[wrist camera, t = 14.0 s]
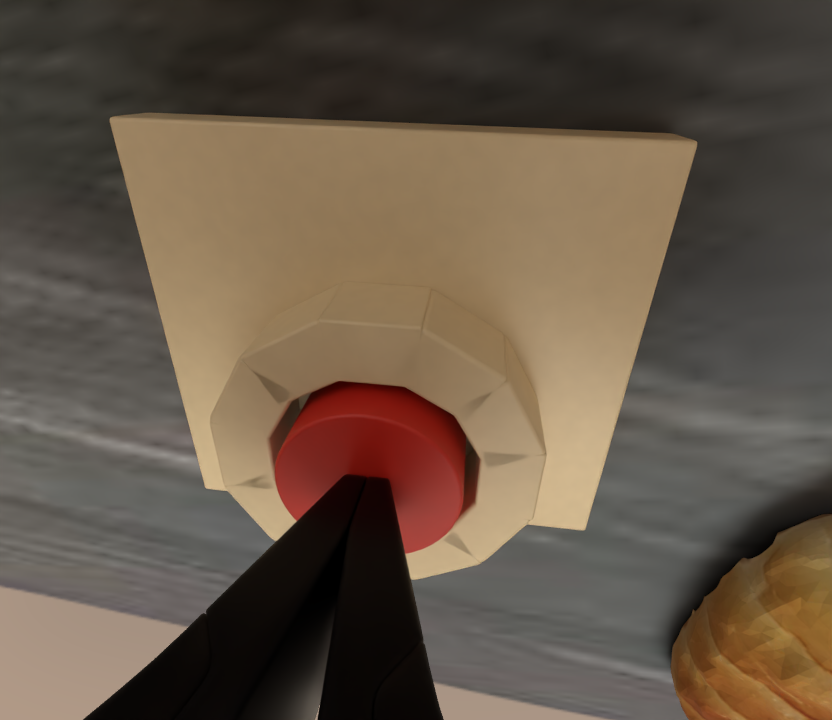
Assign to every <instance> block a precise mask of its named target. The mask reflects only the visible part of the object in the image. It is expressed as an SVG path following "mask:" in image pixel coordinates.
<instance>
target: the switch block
mask: <svg viewBox="0 0 832 720" xmlns="http://www.w3.org/2000/svg"><path fill="white" fill-rule="evenodd" d="M110 124H111V128H112V132H113V136H114V140H115V144H116V147H117V151H118V155H119V159H120V163H121V166H122V170H123V174H124V178H125V182H126V186H127V189H128V193H129V197H130V201H131V205H132V209H133V212H134V216H135V220H136V224H137V228H138V232H139V235H140V239H141V243H142V247H143V251H144V255H145V258H146V262H147V266H148V270H149V274H150V278H151V281H152V285H153V289H154V293H155V297H156V301H157V304H158V308H159V312H160V316H161V320H162V324H163V327H164V331H165V335H166V339H167V343H168V347H169V350H170V354H171V358H172V362H173V366H174V369H175V373H176V377H177V381H178V385H179V389H180V392H181V396H182V400H183V404H184V408H185V412H186V415H187V419H188V423H189V427H190V431H191V435H192V438H193V442H194V446H195V450H196V454H197V458H198V461H199V465H200V469H201V473H202V477H203V481H204V484H205V487H206V488H207V489H214V490H223V491H228V492H229V493H230V494H231V495H232V496H233V497H234V498H235V499H236V500H237V502H238V503H239V504H240V505H241V506H242V507H243V508H244V509H245V510H246V511H247V512H248V514H249V515H250V516H251V517H252V518H253V519H254V520H255V521H256V522H257V523H258V525H259V526H260V527H261V528H262V529H263V530H264V531H265V532H266V533H267V534H268V535H269V537H270V538H273V540H275V541H277V540H278V539H279V538H280V537H281V536H282V535H283V534H284V533H285V532H286V531H287V530H288V529H289V528H290V527H291V526H292V525H293V524H294V523H296V522H297V521H296V520H295V519H294V518H293V517H292V515H291V514H290V513H289V511H288V510H287V509H286V507H285V506H284V504H283V502H282V500H281V498H280V496H279V493H278V490H277V486H276V482H275V464H276V459H277V456H278V453H279V451H280V449H281V447H282V445H283V443H284V441H285V439H286V437H287V436H288V434H289V432H290V430H291V428H292V426H293V425H294V423H295V421H296V419H297V417H298V415H299V414H300V412H301V410H302V408H303V406H304V404H305V403H306V401H307V399H308V397H309V395H310V394H311V393H312V392H314V391H316V390H319V389H321V388H324V387H326V386H328V385H331V384H333V383H335V382H338V381H345V382H356V383H368V384H379V385H390V386H402V387H406V388H407V389H409V390H411V391H413V392H414V393H416V394H418V395H420V396H421V397H423V398H425V399H426V400H428V401H430V402H432V403H433V404H435V405H437V406H438V407H440V408H442V409H444V410H445V411H447V412H449V413H451V414H452V415H454V416H455V418H456V419H457V421H458V423H459V424H460V426H461V428H462V429H463V431H464V433H465V434H466V457H465V478H464V499H463V505H462V510H461V512H460V515H459V517H458V519H457V521H456V522H455V524H454V526H453V527H452V528H451V529H450V531H449V532H448V533H447V534H446V535H445V536H444V537H442V538H441V539H440V540H439V541H437V542H435V543H434V544H432V545H430V546H428V547H426V548H424V549H421V550H418V551H415V552H412V553H407V554H405V555H406V559H407V564H408V569H409V573H410V578H411V580H412V579H413V580H417V579H421V578H425V577H429V576H433V575H438V574H442V573H446V572H450V571H454V570H458V569H462V568H466V567H470V566H475V565H479V564H480V563H481V562H483V561H485V560H486V559H487V558H489V557H490V556H491V555H492V554H493V553H494V552H495V551H497V550H498V549H499V548H500V547H501V546H502V545H504V544H505V543H506V542H507V541H508V540H509V539H510V538H512V537H513V536H514V535H515V534H516V533H517V532H519V531H520V530H521V529H522V528H523V527H524V526H525V525H527V524H529V525H538V526H547V527H556V528H565V529H574V530H585V528H586V525H587V522H588V518H589V515H590V511H591V508H592V504H593V501H594V498H595V494H596V491H597V487H598V484H599V480H600V477H601V474H602V470H603V467H604V463H605V460H606V456H607V453H608V450H609V446H610V443H611V439H612V436H613V432H614V429H615V426H616V422H617V419H618V415H619V412H620V408H621V405H622V402H623V398H624V395H625V391H626V388H627V385H628V381H629V378H630V374H631V371H632V367H633V364H634V361H635V357H636V354H637V350H638V347H639V343H640V340H641V337H642V333H643V330H644V326H645V323H646V319H647V316H648V313H649V309H650V306H651V302H652V299H653V295H654V292H655V289H656V285H657V282H658V278H659V275H660V271H661V268H662V265H663V261H664V258H665V254H666V251H667V247H668V244H669V241H670V237H671V234H672V230H673V227H674V223H675V220H676V217H677V213H678V210H679V206H680V203H681V200H682V196H683V193H684V189H685V186H686V182H687V179H688V176H689V172H690V169H691V165H692V162H693V158H694V155H695V152H696V148H697V142H696V141H694V140H692V139H688V138H685V137H682V136H679V135H676V134H672V133H650V132H625V131H600V130H575V129H550V128H525V127H500V126H474V125H449V124H424V123H399V122H374V121H349V120H324V119H299V118H274V117H249V116H223V115H198V114H173V113H139V114H130V115H122V116H113V117H111V118H110Z"/></svg>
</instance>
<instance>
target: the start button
mask: <svg viewBox="0 0 832 720" xmlns="http://www.w3.org/2000/svg"><path fill="white" fill-rule="evenodd" d="M465 457H466V434H465V433H464V431H463V429H462V428H461V426H460V424H459V423H458V421H457V419H456V418H455V416H454V415H452V414H451V413H449V412H447V411H445V410H444V409H442V408H440V407H438V406H437V405H435V404H433V403H432V402H430V401H428V400H426V399H425V398H423V397H421V396H420V395H418V394H416V393H414V392H413V391H411V390H409V389H407V388H406V387H402V386H390V385H379V384H368V383H356V382H345V381H338V382H335V383H333V384H331V385H328V386H326V387H324V388H321V389H319V390H316V391H314V392H312V393H311V394H310V395H309V397H308V399H307V401H306V403H305V404H304V406H303V408H302V410H301V412H300V414H299V415H298V417H297V419H296V421H295V423H294V425H293V426H292V428H291V430H290V432H289V434H288V436H287V437H286V439H285V441H284V443H283V445H282V447H281V449H280V451H279V453H278V456H277V459H276V464H275V482H276V486H277V490H278V493H279V496H280V498H281V500H282V502H283V504H284V506H285V507H286V509H287V510H288V511H289V513H290V514H291V515H292V517H293V518H294V519H295V520H296V521H298V520H299V519H300V518H301V517H302V516H303V515H304V514H305V513H306V512H307V511H308V510H309V509H310V508H311V507H312V506H313V505H314V504H315V503H316V502H317V501H318V500H319V499H320V498H321V497H322V496H323V495H324V494H325V493H326V492H327V491H328V490H329V489H330V488H331V487H332V486H333V485H334V484H335V483H336V482H337V481H338V480H339V479H340V478H341V477H343V476H344V475H346V474H352V475H362V476H365V477H366V478H368V477H371V476H372V477H381V478H388V479H389V481H390V484H391V489H392V493H393V498H394V503H395V507H396V512H397V517H398V522H399V526H400V531H401V536H402V540H403V545H404V550H405V554H407V553H412V552H415V551H418V550H421V549H424V548H426V547H428V546H430V545H432V544H434V543H435V542H437V541H439V540H440V539H441V538H442V537H444V536H445V535H446V534H447V533H448V532H449V531H450V529H451V528H452V527H453V526H454V524H455V522H456V521H457V519H458V517H459V515H460V512H461V510H462V505H463V499H464V478H465Z"/></svg>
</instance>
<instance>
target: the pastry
mask: <svg viewBox="0 0 832 720" xmlns="http://www.w3.org/2000/svg"><path fill="white" fill-rule="evenodd" d="M670 667H671V674H672V678H673V683H674V687H675V691H676V694H677V696H678V698H679V700H680V704H681V707H682V709H683V711H684V712H685V714H686V716H687V718H688V719H689V720H832V514H822V515H819V516H817V517H815V518H812V519H809V520H807V521H805V522H803V523H801V524H799V525H796V526H794V527H791V528H789V529H786V530H784V531H781V532H778V533H777V536H776V538H775V540H774V542H773V544H772V545H771V546H770V547H769V548H768V549H767V550H766V551H764V552H763V553H762V554H760V555H758V556H756V557H754V558H751V559H746V558H742V559H741V560H740V561H739V562H738V563H737V564H736V565H735V566H734V567H733V569H732V570H731V571H730V572H729V573H727V574H726V575H724V576H723V577H722V578H721V580H720V583H719V585H718V587H717V588H716V589H715V590H714V591H713V592H711V593H710V594H709V595H707V596H706V597H705V595H704V599H703V602H702V604H701V605H700V607H699V608H698V609H697V610H696V611H694V610H693V612H692V615H691V617H690V618H689V619H688V620H687V622H686V623H685V624H684V626H683V627H682V629H681V631H680V634H679V636H678V638H677V639H676V641H675V643H674V645H673V649H672V661H671V666H670Z"/></svg>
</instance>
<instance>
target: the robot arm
mask: <svg viewBox="0 0 832 720" xmlns="http://www.w3.org/2000/svg"><path fill="white" fill-rule="evenodd" d="M319 705H320V708H319ZM318 708H319V714H318V720H444V719H443V716H442V713H441V710H440V707H439V703H438V699H437V695H436V692H435V687H434V683H433V679H432V675H431V671H430V667H429V662H428V657H427V652H426V648H425V644H424V643H423V635H422V630H421V625H420V621H419V616H418V611H417V606H416V602H415V597H414V592H413V588H412V583H411V578H410V573H409V569H408V564H407V559H406V555H405V550H404V545H403V540H402V536H401V531H400V526H399V522H398V517H397V512H396V507H395V503H394V498H393V493H392V489H391V484H390V481H389V479H388V478H381V477H372V476H371V477H368V478H366V477H365V476H362V475H352V474H346V475H344V476H343V477H341V478H340V479H339V480H338V481H337V482H336V483H335V484H334V485H333V486H332V487H331V488H330V489H329V490H328V491H327V492H326V493H325V494H324V495H323V496H322V497H321V498H320V499H319V500H318V501H317V502H316V503H315V504H314V505H313V506H312V507H311V508H310V509H309V510H308V511H307V512H306V513H305V514H304V515H303V516H302V517H301V518H300V519H299V520H298V521H297V522H296V523H294V524H293V525H292V526H291V527H290V528H289V529H288V530H287V531H286V532H285V533H284V534H283V535H282V536H281V537H280V538H279V539H278V540H277V541H276V542H275V543H274V544H273V545H272V546H271V547H270V548H269V549H268V550H267V551H266V552H265V553H264V554H263V555H262V556H261V557H260V558H259V559H258V560H257V561H256V562H255V563H254V564H253V565H252V566H251V567H250V568H249V569H248V570H247V571H246V572H244V573H243V574H242V575H241V576H240V577H239V578H238V579H237V580H236V581H235V582H234V583H233V584H232V585H231V586H230V587H229V588H228V589H227V590H226V591H225V592H224V593H223V594H222V595H221V596H220V597H219V598H218V599H217V600H216V601H215V602H214V603H213V604H212V605H211V606H210V607H209V608H208V609H207V610H206V614H204V613H203V614H201V615H200V616H199V617H198V618H197V619H196V620H195V621H194V622H193V623H192V624H191V625H190V626H189V627H188V628H187V629H186V630H185V631H184V632H183V633H182V634H181V635H180V636H179V637H178V638H177V639H176V640H174V641H173V642H172V643H171V644H170V645H169V646H168V647H167V648H166V649H165V650H164V651H163V652H162V653H161V654H160V655H158V656H157V658H155V659H154V660H153V661H152V662H151V663H150V664H148V665H147V666H146V667H145V668H144V669H143V670H142V671H140V672H139V673H138V674H137V675H136V676H134V677H133V678H132V679H131V680H130V681H129V682H128V683H126V684H125V685H124V686H123V687H122V688H121V689H119V690H118V691H117V692H116V693H115V694H113V695H112V696H111V697H110V698H109V699H107V700H106V701H105V702H104V703H103V704H101V705H100V706H99V707H98V708H96V709H95V710H94V711H93V712H92V713H90V714H89V715H88V716H87V717H86V718H85V719H83V720H315V717H316V714H317V711H318Z"/></svg>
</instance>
